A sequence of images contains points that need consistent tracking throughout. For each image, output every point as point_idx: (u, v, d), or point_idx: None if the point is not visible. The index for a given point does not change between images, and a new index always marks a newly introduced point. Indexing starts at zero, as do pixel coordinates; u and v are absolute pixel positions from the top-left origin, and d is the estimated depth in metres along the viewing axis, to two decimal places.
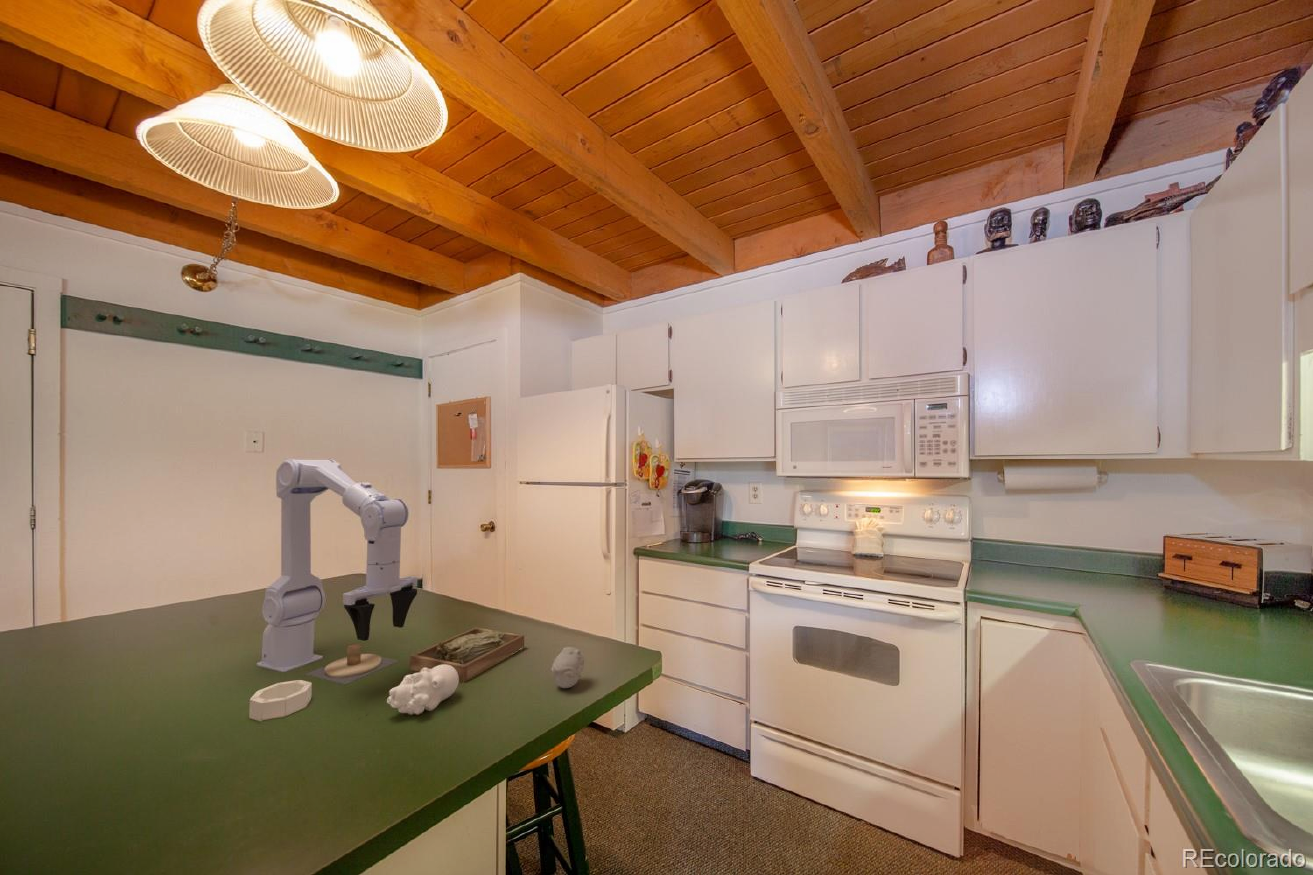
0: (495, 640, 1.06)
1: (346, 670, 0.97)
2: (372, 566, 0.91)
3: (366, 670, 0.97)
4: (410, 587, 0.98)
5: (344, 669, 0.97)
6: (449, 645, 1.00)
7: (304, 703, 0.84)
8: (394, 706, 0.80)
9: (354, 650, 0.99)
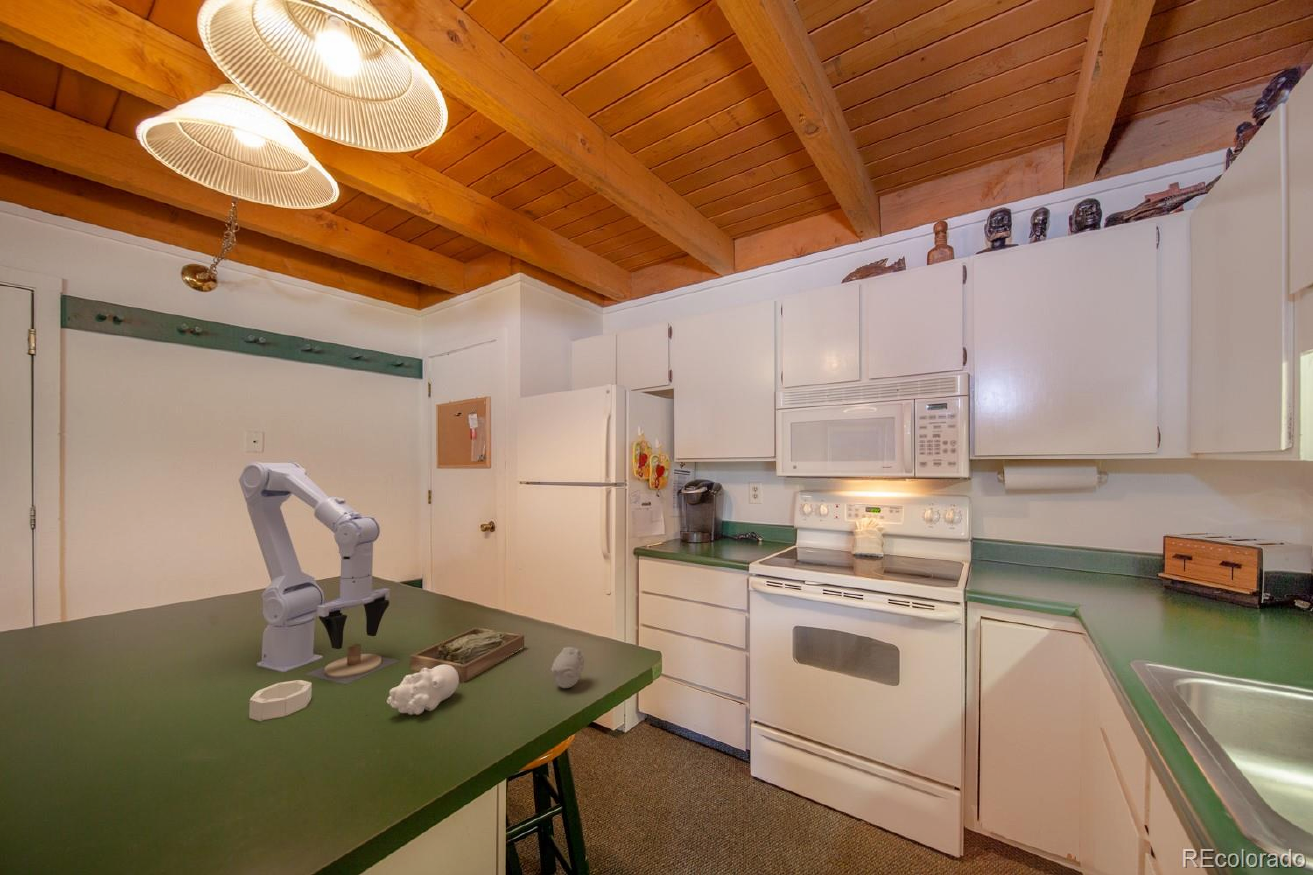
0: (496, 640, 1.05)
1: (346, 670, 0.97)
2: (345, 580, 0.98)
3: (366, 670, 0.98)
4: (383, 598, 1.06)
5: (344, 669, 0.97)
6: (450, 645, 1.00)
7: (304, 703, 0.84)
8: (394, 706, 0.80)
9: (354, 649, 0.99)
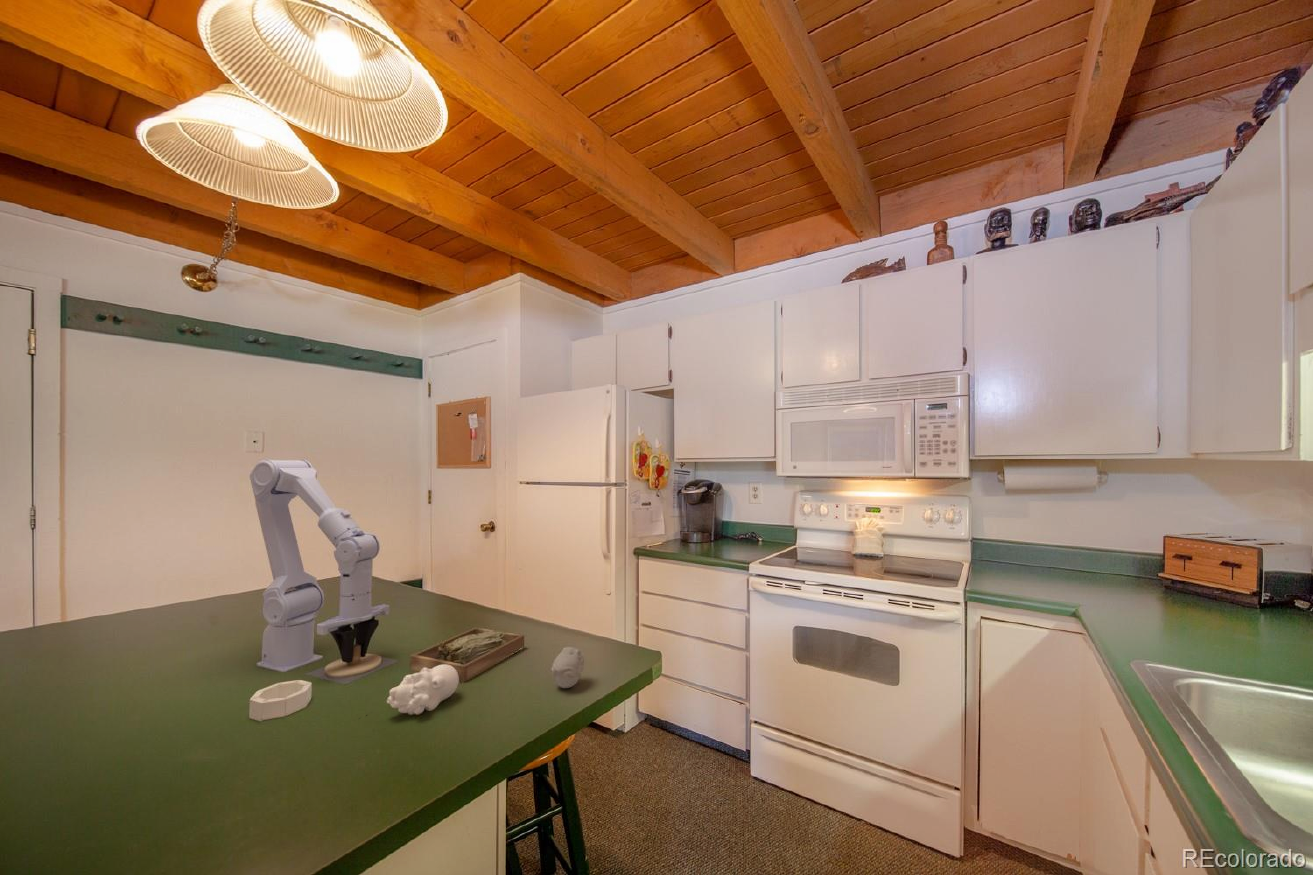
0: (496, 640, 1.06)
1: (346, 670, 0.97)
2: (344, 597, 0.98)
3: (366, 670, 0.98)
4: None
5: (344, 669, 0.97)
6: (451, 645, 1.00)
7: (304, 703, 0.84)
8: (394, 706, 0.80)
9: (354, 649, 0.99)
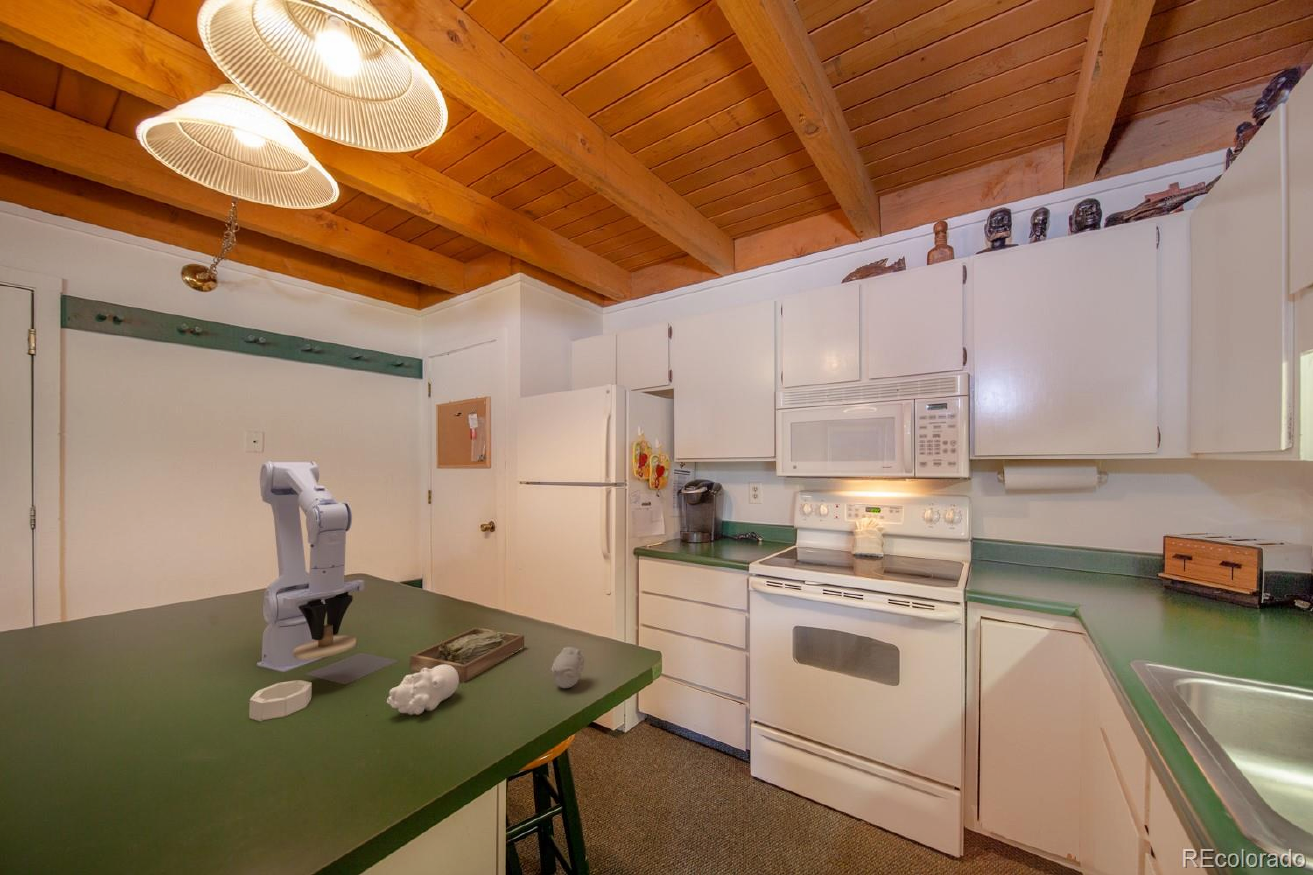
0: (497, 640, 1.06)
1: (316, 651, 0.89)
2: (314, 570, 0.91)
3: (338, 651, 0.90)
4: None
5: (314, 650, 0.90)
6: (451, 646, 1.00)
7: (304, 703, 0.84)
8: (394, 706, 0.80)
9: (325, 630, 0.92)
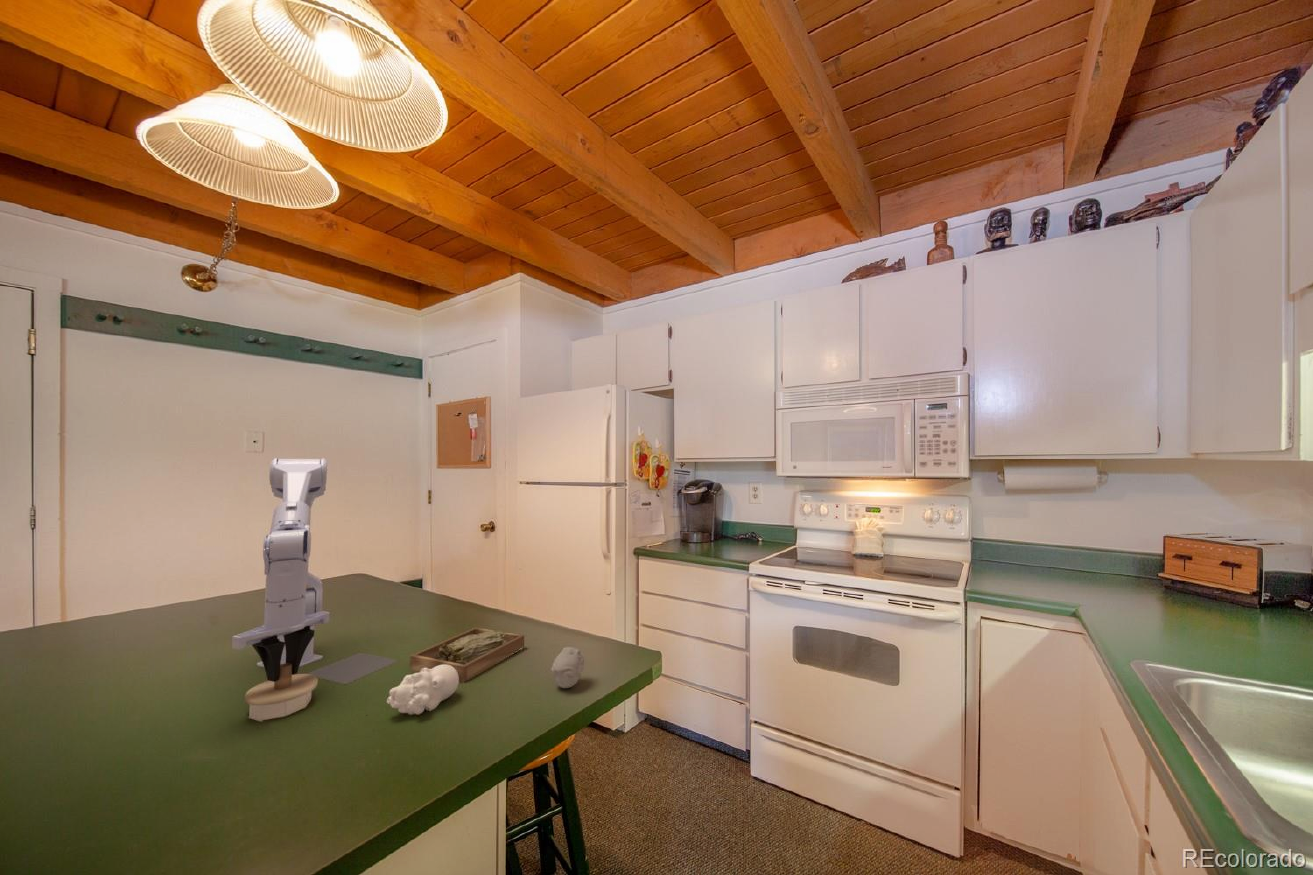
0: (498, 640, 1.06)
1: (269, 696, 0.80)
2: (270, 604, 0.82)
3: (292, 696, 0.81)
4: None
5: (267, 694, 0.81)
6: (452, 646, 1.00)
7: (304, 703, 0.84)
8: (394, 706, 0.80)
9: (281, 670, 0.83)
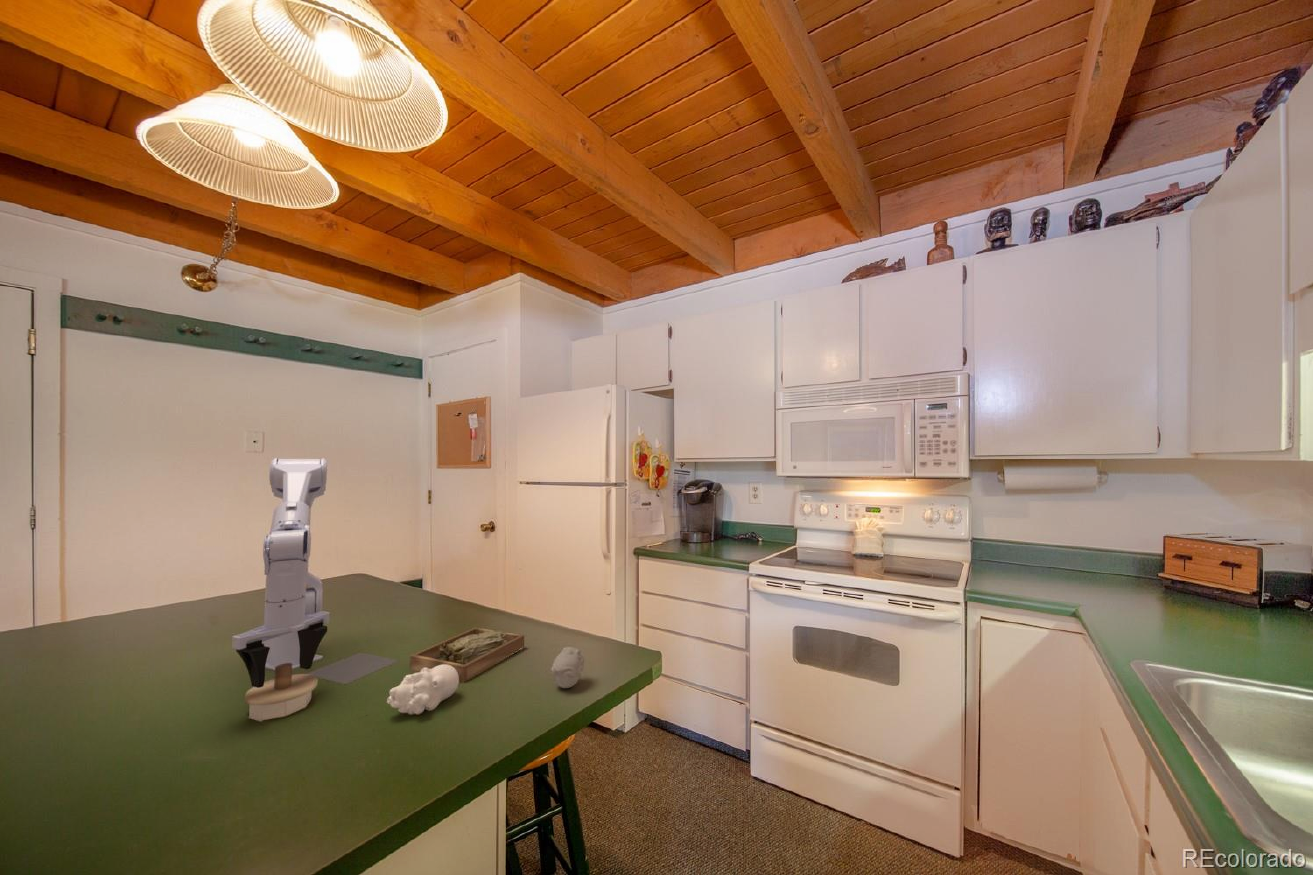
0: (498, 640, 1.06)
1: (269, 696, 0.80)
2: (270, 604, 0.82)
3: (292, 696, 0.81)
4: (320, 624, 0.89)
5: (267, 694, 0.81)
6: (453, 646, 1.00)
7: (304, 703, 0.84)
8: (394, 706, 0.80)
9: (281, 670, 0.83)
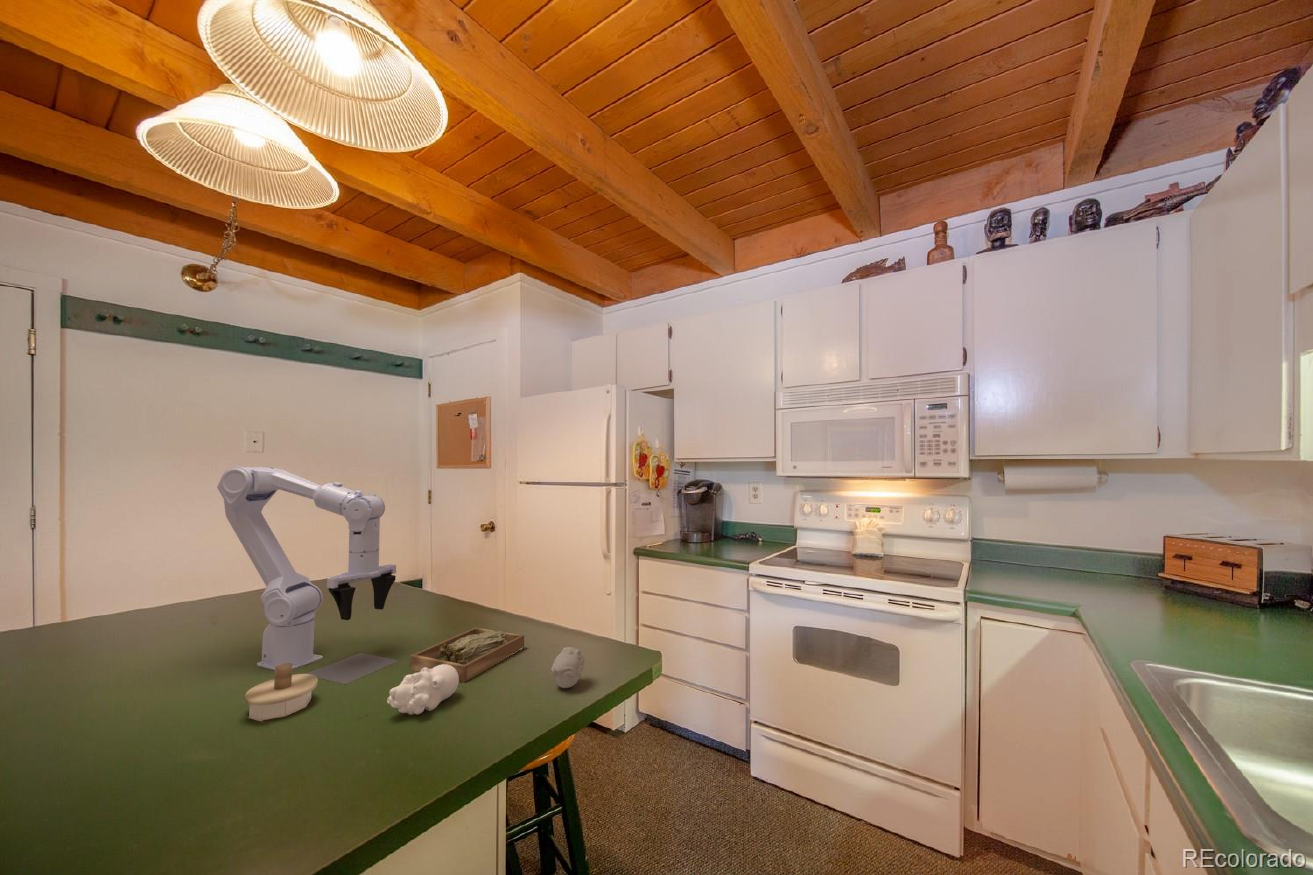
0: (499, 639, 1.06)
1: (269, 696, 0.80)
2: (353, 554, 1.02)
3: (292, 696, 0.81)
4: (389, 573, 1.09)
5: (267, 694, 0.81)
6: (454, 646, 1.00)
7: (304, 703, 0.84)
8: (394, 706, 0.80)
9: (281, 670, 0.83)
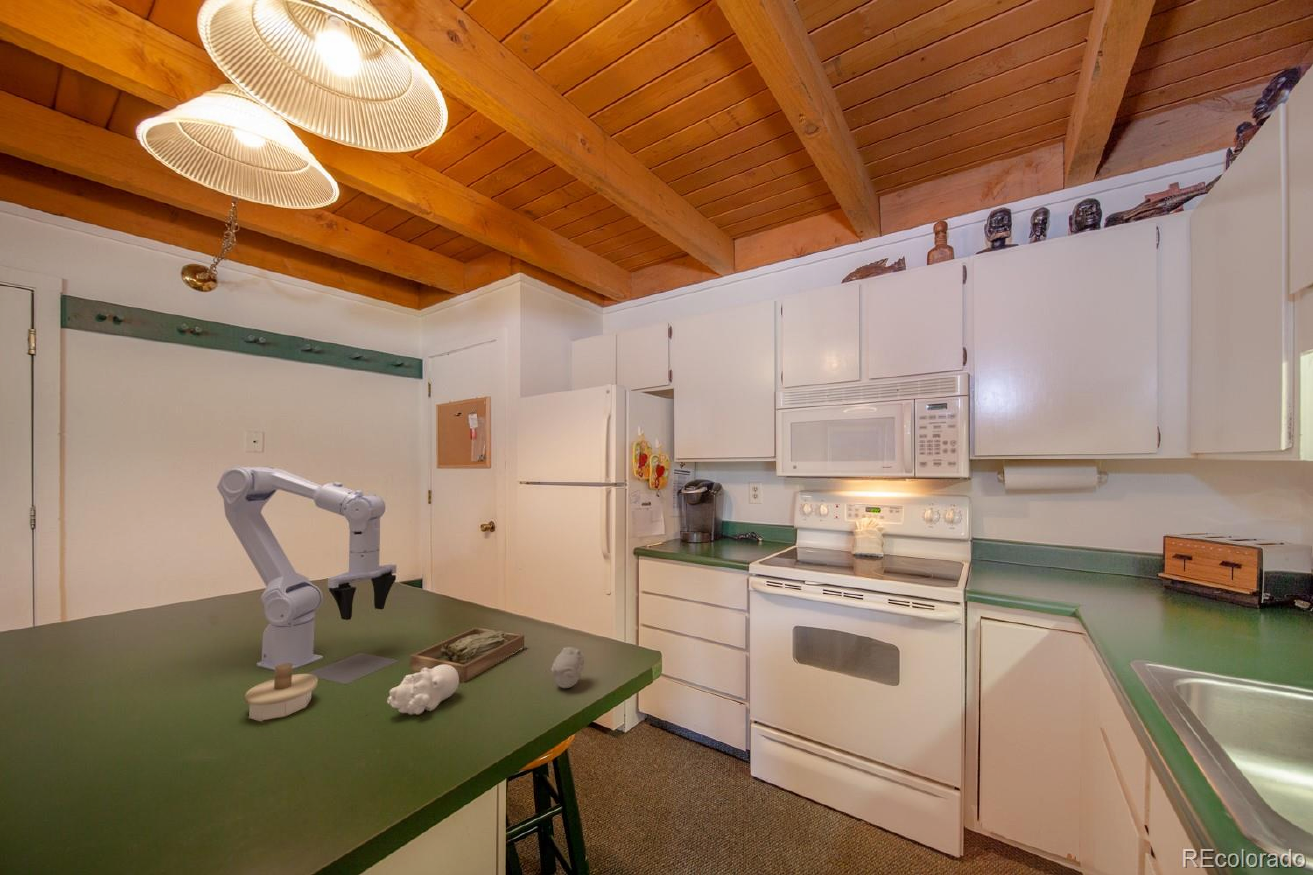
0: (500, 639, 1.06)
1: (269, 696, 0.80)
2: (354, 554, 1.02)
3: (292, 696, 0.81)
4: (389, 573, 1.10)
5: (267, 694, 0.81)
6: (455, 646, 1.00)
7: (304, 703, 0.84)
8: (394, 706, 0.80)
9: (281, 670, 0.83)
